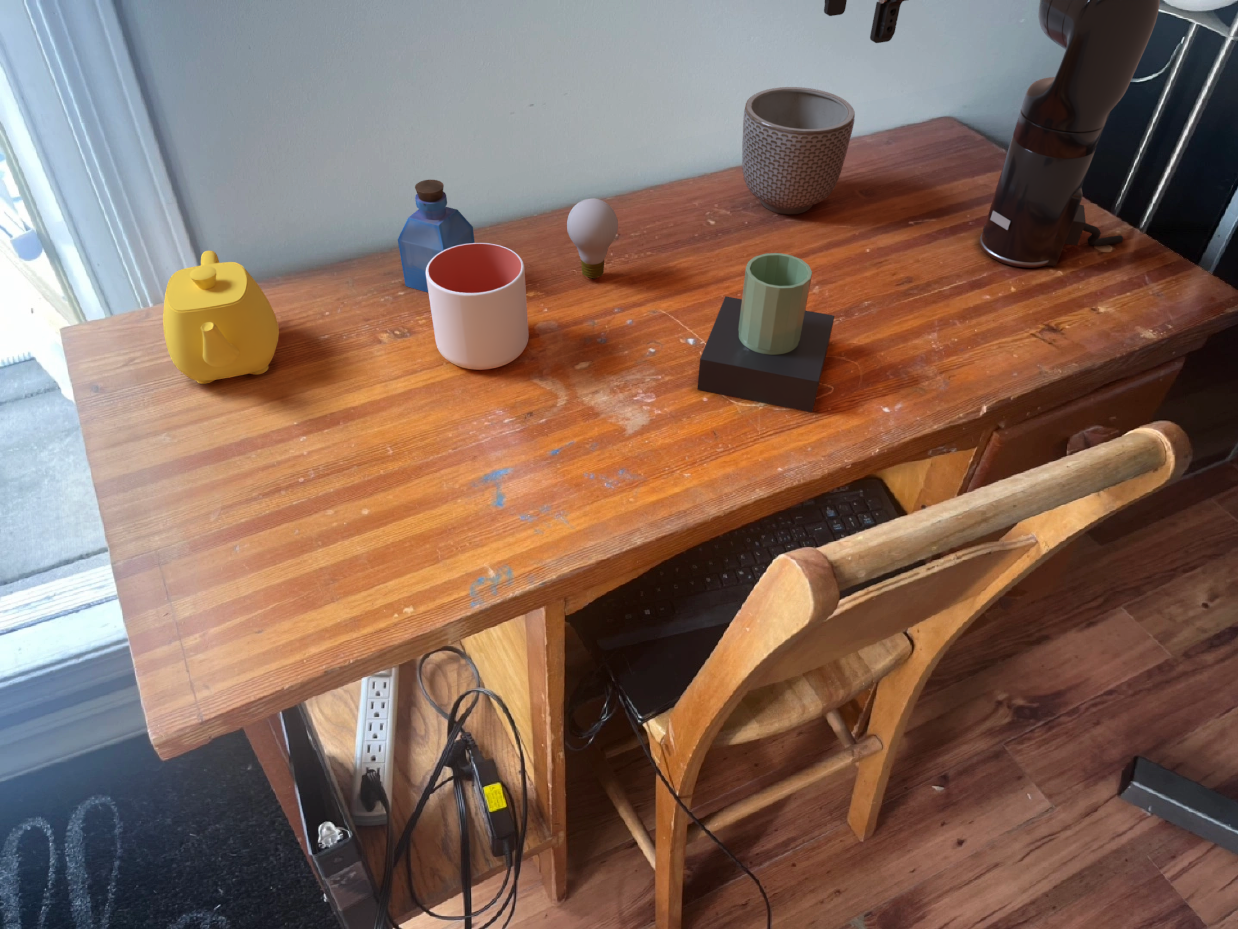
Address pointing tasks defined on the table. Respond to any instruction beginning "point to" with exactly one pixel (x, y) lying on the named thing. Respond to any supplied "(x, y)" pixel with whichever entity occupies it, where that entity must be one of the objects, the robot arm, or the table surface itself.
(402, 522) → the table surface
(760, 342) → the sage cup
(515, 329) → the cup
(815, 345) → the riser
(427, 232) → the perfume bottle
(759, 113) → the planter
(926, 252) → the table surface
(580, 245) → the light bulb
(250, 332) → the teapot
